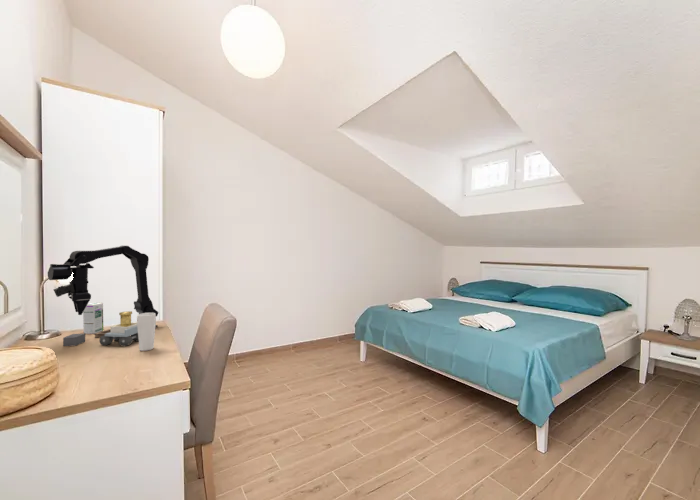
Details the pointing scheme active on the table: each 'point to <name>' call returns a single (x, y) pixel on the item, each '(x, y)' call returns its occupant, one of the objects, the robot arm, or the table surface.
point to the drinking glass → (146, 330)
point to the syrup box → (93, 318)
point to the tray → (121, 328)
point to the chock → (73, 339)
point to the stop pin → (125, 318)
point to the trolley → (120, 337)
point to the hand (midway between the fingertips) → (78, 313)
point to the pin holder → (101, 333)
